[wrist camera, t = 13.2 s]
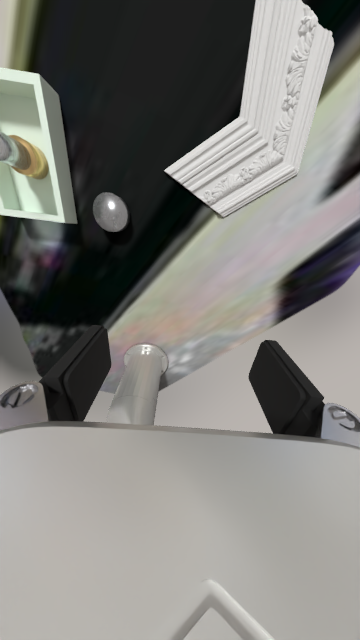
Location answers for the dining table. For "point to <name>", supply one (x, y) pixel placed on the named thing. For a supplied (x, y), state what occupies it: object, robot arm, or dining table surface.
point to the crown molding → (264, 111)
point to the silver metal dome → (111, 212)
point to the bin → (48, 135)
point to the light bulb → (23, 156)
